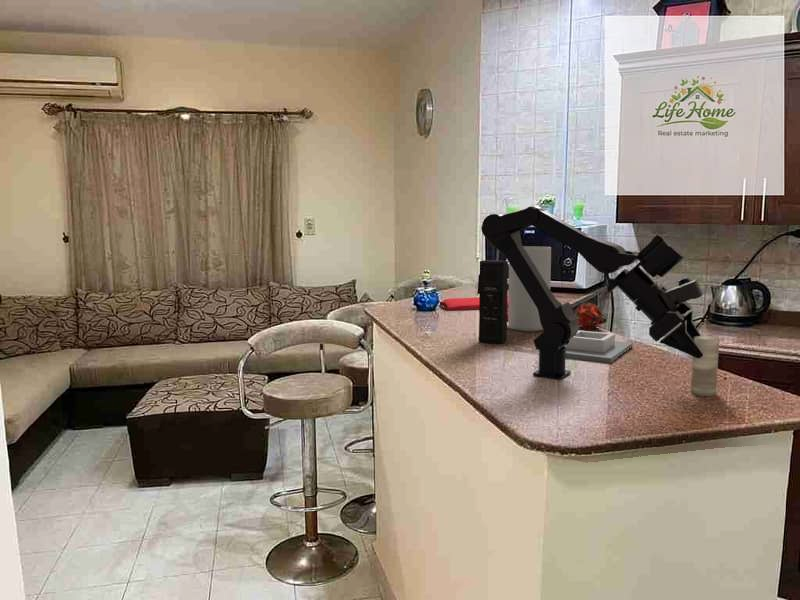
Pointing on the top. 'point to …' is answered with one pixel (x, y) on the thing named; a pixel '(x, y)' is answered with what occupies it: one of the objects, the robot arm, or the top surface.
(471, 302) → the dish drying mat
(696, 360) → the birch pin
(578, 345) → the socket board
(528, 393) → the top surface
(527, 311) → the cylinder vase
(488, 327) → the portable radio
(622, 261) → the robot arm
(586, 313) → the dragon fruit
